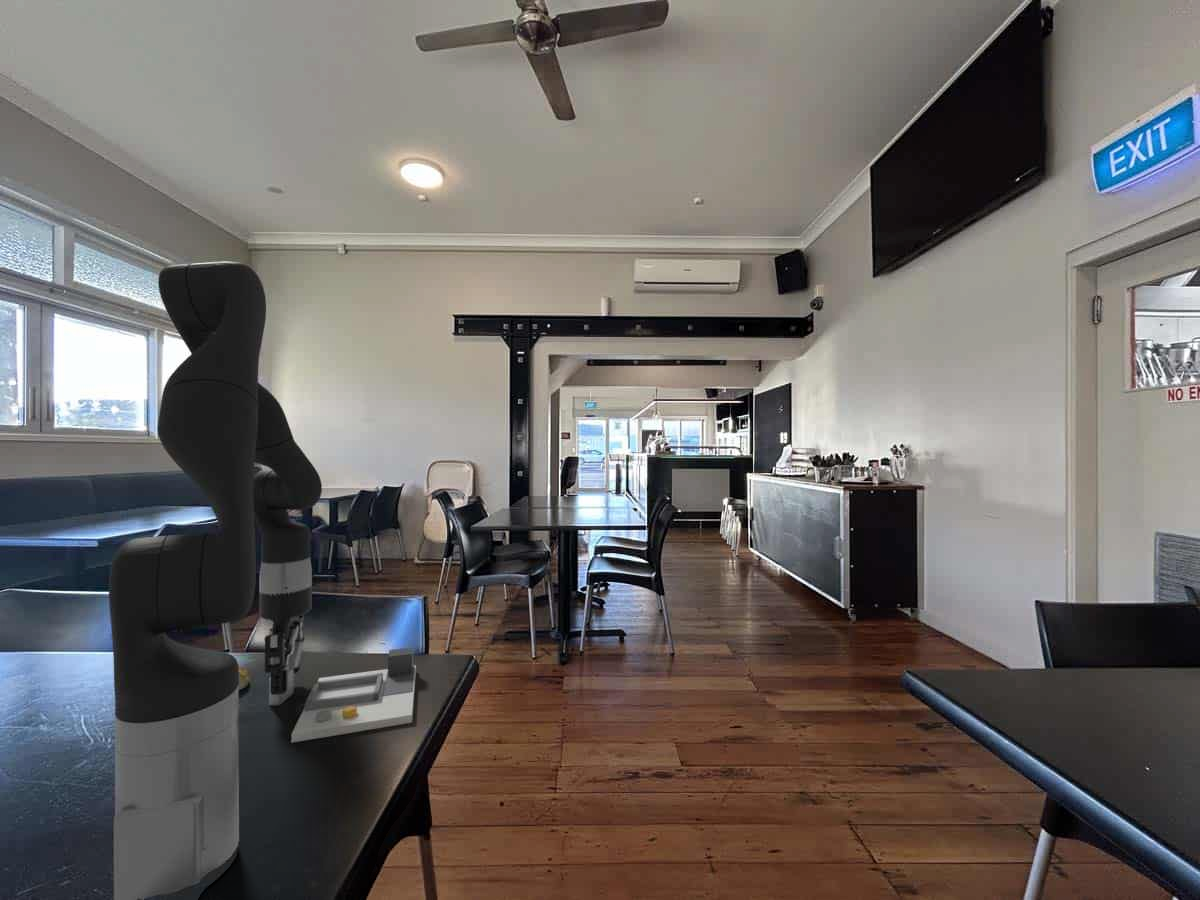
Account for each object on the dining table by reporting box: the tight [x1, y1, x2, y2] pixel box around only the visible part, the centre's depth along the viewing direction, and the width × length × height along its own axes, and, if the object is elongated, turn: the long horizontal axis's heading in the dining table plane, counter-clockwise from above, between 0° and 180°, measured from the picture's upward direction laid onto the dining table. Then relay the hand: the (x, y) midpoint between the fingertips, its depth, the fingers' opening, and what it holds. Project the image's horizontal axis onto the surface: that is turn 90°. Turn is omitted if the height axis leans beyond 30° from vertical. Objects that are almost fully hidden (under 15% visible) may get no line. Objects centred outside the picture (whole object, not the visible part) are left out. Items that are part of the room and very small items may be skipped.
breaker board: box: [290, 664, 417, 744], centre depth 81 cm, size 18×16×2 cm
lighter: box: [268, 641, 304, 706], centre depth 84 cm, size 7×2×8 cm, turn 3°
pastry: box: [238, 665, 251, 692], centre depth 87 cm, size 9×7×4 cm
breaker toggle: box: [387, 647, 414, 676], centre depth 89 cm, size 3×4×4 cm
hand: (286, 682), depth 83 cm, fingers closed on lighter, 7 cm apart
